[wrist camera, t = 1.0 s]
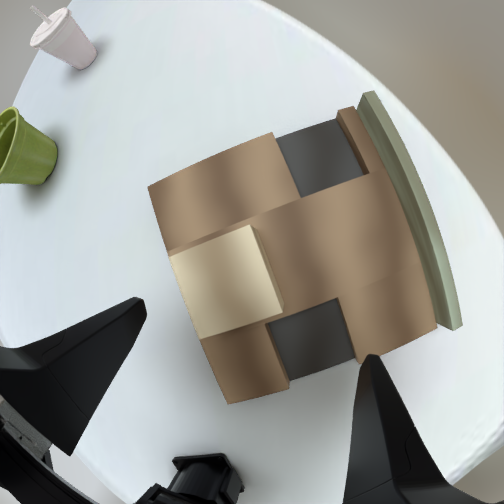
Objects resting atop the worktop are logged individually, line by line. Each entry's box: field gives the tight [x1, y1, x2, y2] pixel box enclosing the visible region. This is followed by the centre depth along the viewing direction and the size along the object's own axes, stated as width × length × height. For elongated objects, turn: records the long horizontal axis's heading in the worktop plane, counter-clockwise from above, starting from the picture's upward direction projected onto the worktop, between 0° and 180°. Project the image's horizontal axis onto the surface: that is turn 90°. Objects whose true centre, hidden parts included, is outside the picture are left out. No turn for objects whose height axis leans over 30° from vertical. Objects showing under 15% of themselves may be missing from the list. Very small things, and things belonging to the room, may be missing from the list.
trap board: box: [148, 91, 463, 404], centre depth 21 cm, size 20×20×5 cm
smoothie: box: [30, 6, 97, 70], centre depth 20 cm, size 6×6×14 cm
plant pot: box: [0, 107, 57, 185], centre depth 23 cm, size 9×9×9 cm
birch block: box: [169, 225, 284, 339], centre depth 20 cm, size 6×6×4 cm
